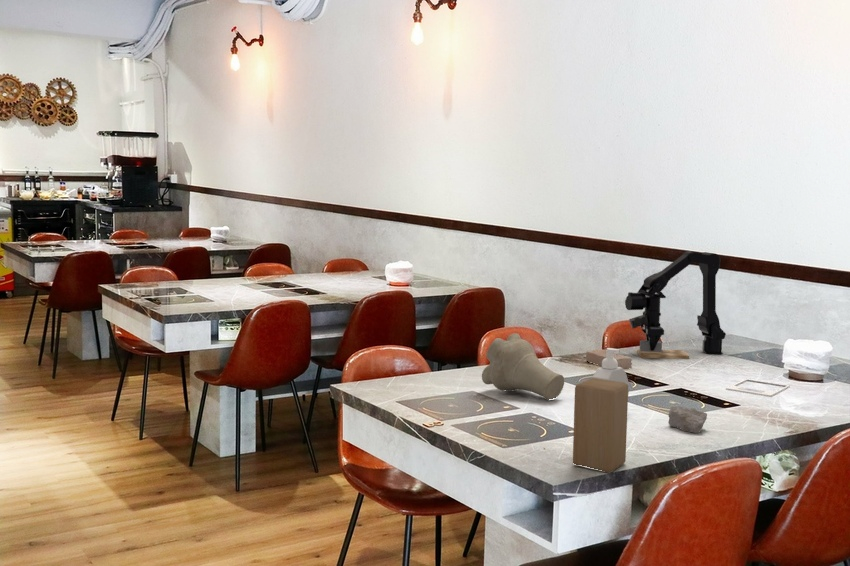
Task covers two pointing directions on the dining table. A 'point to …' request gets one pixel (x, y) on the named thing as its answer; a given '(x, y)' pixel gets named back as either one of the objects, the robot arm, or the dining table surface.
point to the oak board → (665, 354)
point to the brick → (600, 354)
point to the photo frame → (756, 391)
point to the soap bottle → (611, 369)
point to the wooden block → (600, 424)
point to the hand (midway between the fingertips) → (650, 349)
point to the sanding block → (646, 347)
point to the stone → (687, 419)
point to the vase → (520, 368)
